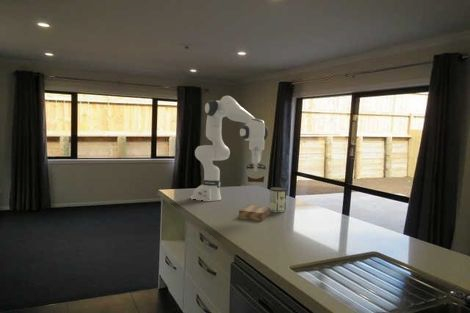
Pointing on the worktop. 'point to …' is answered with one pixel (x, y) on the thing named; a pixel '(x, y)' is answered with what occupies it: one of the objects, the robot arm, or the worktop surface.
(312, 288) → the worktop surface
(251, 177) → the food container
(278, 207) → the coffee can
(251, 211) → the walnut block
